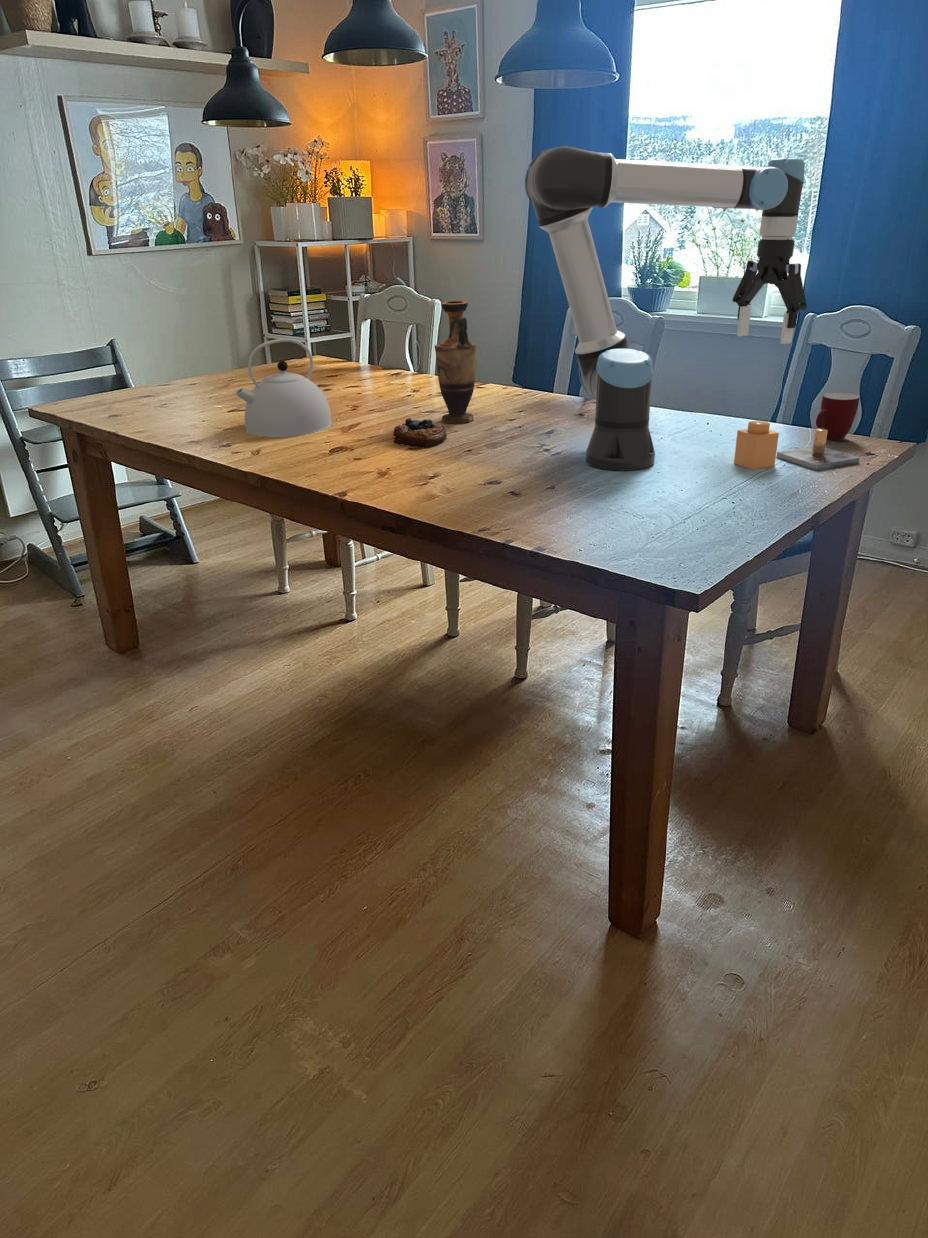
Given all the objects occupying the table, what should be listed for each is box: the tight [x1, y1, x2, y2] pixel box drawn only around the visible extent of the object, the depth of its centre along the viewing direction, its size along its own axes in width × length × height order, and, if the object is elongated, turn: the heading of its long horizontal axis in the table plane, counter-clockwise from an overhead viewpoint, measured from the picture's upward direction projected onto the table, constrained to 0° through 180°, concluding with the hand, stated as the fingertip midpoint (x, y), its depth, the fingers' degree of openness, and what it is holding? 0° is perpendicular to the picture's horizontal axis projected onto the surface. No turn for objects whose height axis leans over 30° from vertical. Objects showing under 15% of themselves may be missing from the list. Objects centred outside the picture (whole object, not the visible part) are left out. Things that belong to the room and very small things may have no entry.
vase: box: [434, 300, 478, 424], centre depth 232 cm, size 11×11×30 cm
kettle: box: [234, 338, 333, 438], centre depth 232 cm, size 25×23×23 cm
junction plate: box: [776, 428, 860, 472], centre depth 195 cm, size 12×12×7 cm
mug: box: [815, 392, 860, 441], centre depth 210 cm, size 11×8×10 cm
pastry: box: [392, 417, 448, 449], centre depth 218 cm, size 11×12×6 cm
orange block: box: [733, 420, 780, 471], centre depth 192 cm, size 6×6×9 cm
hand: (763, 339), depth 203 cm, fingers open, 13 cm apart
